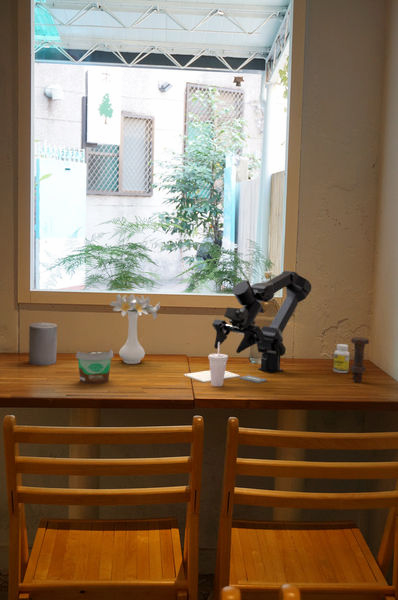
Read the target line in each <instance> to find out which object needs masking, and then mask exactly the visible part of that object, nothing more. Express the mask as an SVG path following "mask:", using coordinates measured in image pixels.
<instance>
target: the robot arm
mask: <svg viewBox="0 0 398 600" xmlns="http://www.w3.org/2000/svg"><path fill="white" fill-rule="evenodd" d="M284 288H285V292H286V297H285V298H284V300H283V302H282V303H281V305H280V308H279V309H278V311H277V312H276V314H275V316H274V318H273V320H272V322H271V323H270V325H269V326H265V325H263V326H262V328H261V327H260V325H255V324H256V321H255V319H256V318H257V317H258V315H259V313H260V314H263V313H264V312H265V311H264V305H263V304H262V303H269V302H270V301H271V300H272V299H273V298H274V297H275V294H276V293H277V292H279V291H280V290H282V289H284ZM231 291H232V293H233V296H234V297H235V299H236V300H237V302H238V304H239V305H241V306H242V307H241V308H240V309H238V308H235V307H226V310H225V313H224V316H223V317H225V318H227V319H229V320H228V322H229V324H228V323H227V321H226V320H224V319H219V318H217V319H214V321H213V322H212V324H211V325H212V327H213V329H214V330H215V331H216V335H215V341H214V346H213V347H214V349H217V350H218V342H220V346H221V345H222V344H223V343H224V342H225V341H226V340H227V338H228V335H230V334H231V333H236V334H241V335H243V338H242V340H241V341H240V343H239V344H238V346H237V348H236V352H235V353H237V354H240V353H241V352H243V351H245V350H247V349H248V348H251V347H252V346H254V345H256V346H257V353H259V354H260V353H261V359H260V367H258V370H260V371H263V372H266V373H270V374H271V373H277V372H283V371H284V370H283V368H281V357H282V356H284V355H285V354H286V346H285V344H284V343H283V342H284V338H283V332H284V330H285V328H286V326H287V325H288V323H289V322H290V319H291V317H292V316H293V314H294V312H295V310H296V308H297V306H298V304H299V303H300V302H302V301H303V300H306V298H307V297H308V295H309V294H310V293H311V291H312V285H311V283H310V281H309V279H306V278H305V277H303V276H300V275H299V274H298V273H297V272H296V271H293V270H291V271H290V270H283V272H281V273H280V274H278V275H276V276H274V277H273V278H271V279H270V280H267V281H265V282H258V283H253V284H252V285H251V283H250V281H249V280H248V279H247V280H245V279H243V280H242V281H241V282H238V283H236V284H235V285H234V286H233V287H232V290H231ZM261 302H262V303H261ZM230 324H231V325H230Z"/></svg>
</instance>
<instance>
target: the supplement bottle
mask: <svg viewBox="0 0 398 600" xmlns="http://www.w3.org/2000/svg"><path fill="white" fill-rule="evenodd" d="M348 350H349V345H348V344H346V343H345V344H344V343H338V344H336V350H335V351H334V352H333V353H334V354H333V366H332V370H333V372H335V373H340V374H346V373H348V372H349V366H350V352H349V351H348Z"/></svg>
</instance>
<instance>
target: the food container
mask: <svg viewBox="0 0 398 600" xmlns="http://www.w3.org/2000/svg"><path fill="white" fill-rule="evenodd" d="M75 358H76V359H77V360H78V361H77V362H78V374H79V382H80V383H82V384H83V383H84V384H89V385H99V384H100V385H101V384H105V383H107V382H109V378H110V371H111V364H112V363H111V361H112V359H113V358H114V352H113V350H112V348H110V351H90V352H82V351H79V350H77V353H76V354H75Z"/></svg>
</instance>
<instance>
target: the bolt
mask: <svg viewBox="0 0 398 600" xmlns="http://www.w3.org/2000/svg"><path fill="white" fill-rule="evenodd" d="M350 342H351V343H352V344H353V345H354V354H353V364H352V365H351V366H350V371H351V372H352V380H353V382H354V383H361V382H362V381H363V373H365V372H366V367H365V365H364V356H365V354H364V353H365V347H366V345H368V344H369V343H370V342H369V339H368V338H366V337H351V339H350Z"/></svg>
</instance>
